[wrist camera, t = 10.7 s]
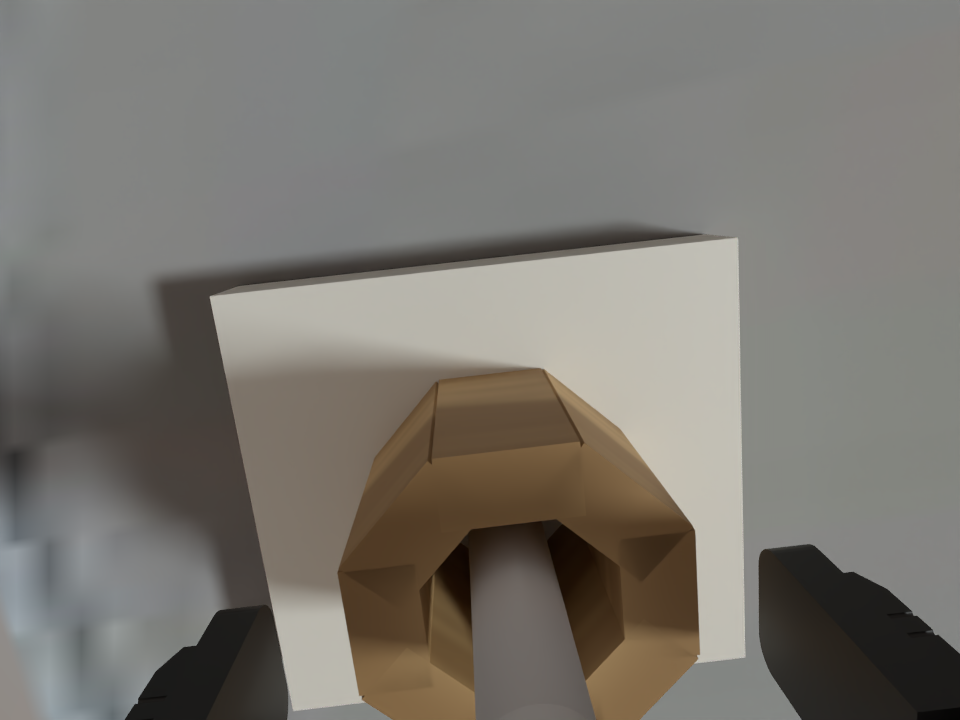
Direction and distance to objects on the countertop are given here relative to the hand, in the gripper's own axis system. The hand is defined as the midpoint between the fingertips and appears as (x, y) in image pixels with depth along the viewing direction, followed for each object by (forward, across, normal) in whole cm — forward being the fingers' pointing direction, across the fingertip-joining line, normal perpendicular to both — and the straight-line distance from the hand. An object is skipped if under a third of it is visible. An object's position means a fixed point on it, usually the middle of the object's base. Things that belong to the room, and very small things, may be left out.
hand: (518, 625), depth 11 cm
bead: (+6, 0, 0) cm, 6 cm away
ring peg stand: (+8, 0, 0) cm, 8 cm away
